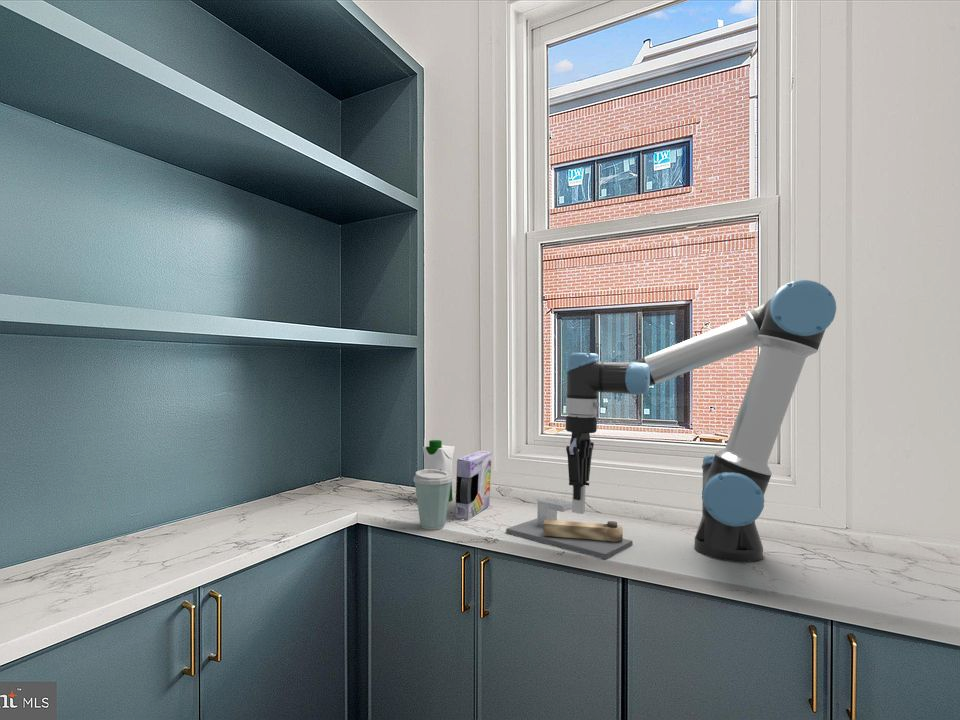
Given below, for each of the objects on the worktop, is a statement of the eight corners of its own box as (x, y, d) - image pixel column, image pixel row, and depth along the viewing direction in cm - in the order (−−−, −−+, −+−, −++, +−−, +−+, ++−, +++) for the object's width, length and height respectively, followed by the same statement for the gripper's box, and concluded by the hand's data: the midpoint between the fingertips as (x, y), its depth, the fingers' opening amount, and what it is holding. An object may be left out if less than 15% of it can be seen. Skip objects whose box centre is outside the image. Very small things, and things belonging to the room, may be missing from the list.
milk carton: (418, 502, 174) (420, 440, 175) (435, 496, 182) (436, 437, 182) (440, 505, 170) (442, 442, 170) (456, 500, 177) (458, 440, 178)
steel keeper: (572, 531, 144) (572, 502, 144) (562, 535, 140) (562, 505, 140) (547, 525, 149) (547, 497, 149) (537, 529, 145) (537, 500, 146)
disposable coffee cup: (459, 525, 148) (460, 471, 148) (434, 535, 139) (436, 477, 139) (429, 519, 153) (430, 467, 154) (403, 528, 144) (405, 472, 145)
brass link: (621, 536, 136) (622, 520, 136) (623, 542, 131) (623, 525, 131) (544, 530, 139) (544, 515, 139) (543, 536, 134) (543, 520, 135)
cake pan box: (468, 522, 152) (469, 459, 152) (452, 520, 154) (453, 458, 154) (491, 507, 170) (492, 451, 170) (476, 505, 171) (477, 450, 172)
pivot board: (632, 545, 133) (632, 540, 133) (605, 559, 123) (605, 554, 123) (536, 522, 152) (536, 518, 152) (506, 533, 142) (506, 528, 142)
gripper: (586, 418, 124) (583, 521, 123) (604, 415, 135) (601, 509, 134) (556, 416, 127) (553, 515, 127) (576, 413, 139) (573, 504, 138)
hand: (578, 512), depth 131 cm, fingers closed
